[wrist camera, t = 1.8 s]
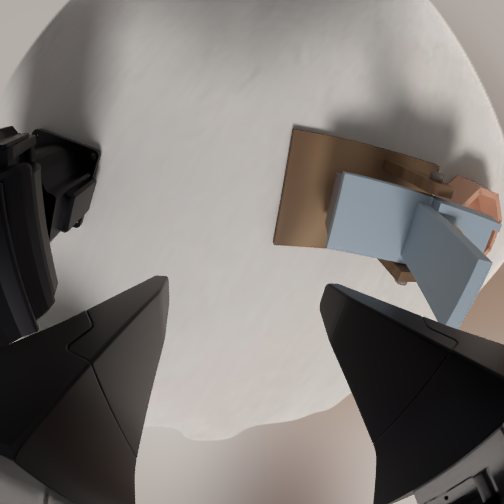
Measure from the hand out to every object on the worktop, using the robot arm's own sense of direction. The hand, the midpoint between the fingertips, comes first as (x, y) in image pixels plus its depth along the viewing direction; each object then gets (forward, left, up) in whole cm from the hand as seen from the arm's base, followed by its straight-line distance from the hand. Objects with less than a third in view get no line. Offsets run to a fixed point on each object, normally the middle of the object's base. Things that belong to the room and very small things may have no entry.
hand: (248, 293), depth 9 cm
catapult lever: (+13, +5, -10) cm, 17 cm away
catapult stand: (+10, +4, -13) cm, 17 cm away
